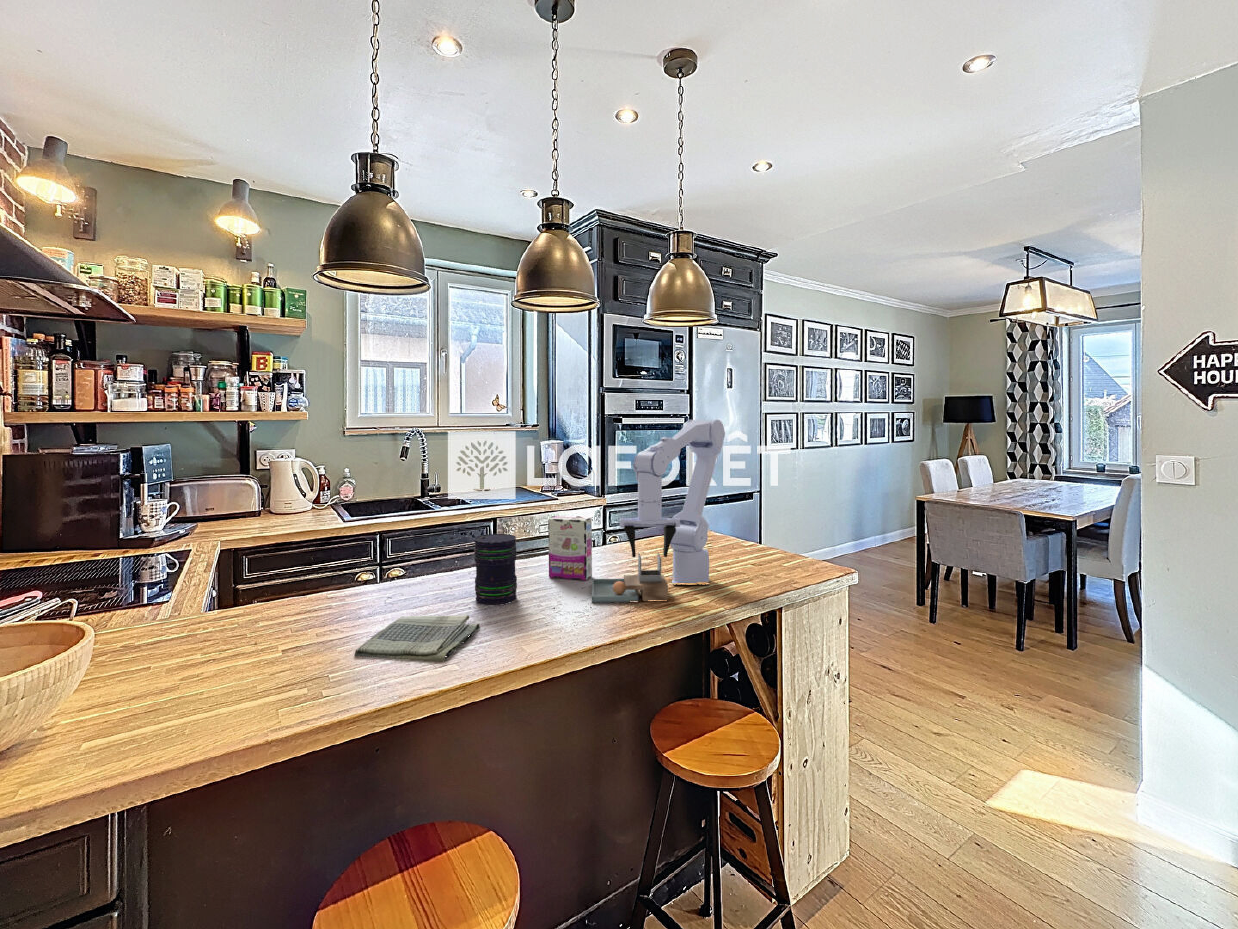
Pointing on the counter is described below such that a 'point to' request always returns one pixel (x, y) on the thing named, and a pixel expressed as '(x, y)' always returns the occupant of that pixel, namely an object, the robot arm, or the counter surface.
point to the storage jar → (495, 569)
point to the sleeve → (649, 572)
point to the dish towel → (419, 638)
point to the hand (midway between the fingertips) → (649, 556)
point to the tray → (610, 592)
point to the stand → (647, 588)
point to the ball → (619, 588)
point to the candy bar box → (570, 548)
